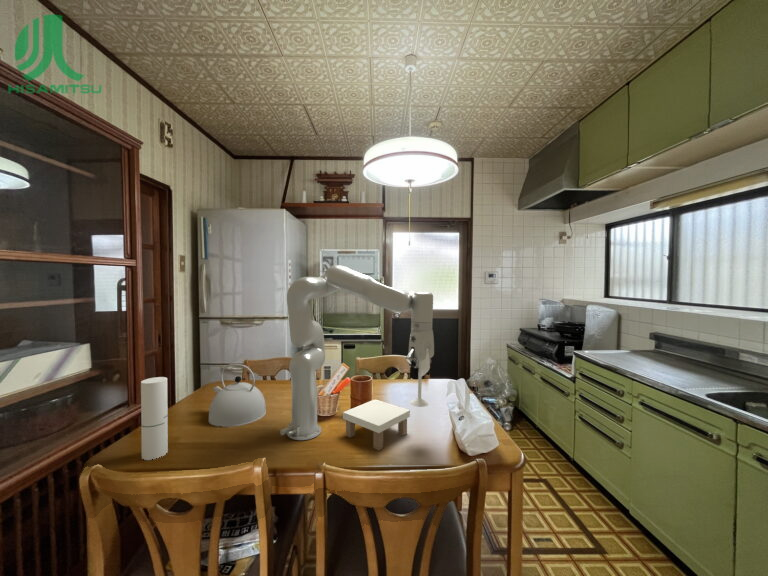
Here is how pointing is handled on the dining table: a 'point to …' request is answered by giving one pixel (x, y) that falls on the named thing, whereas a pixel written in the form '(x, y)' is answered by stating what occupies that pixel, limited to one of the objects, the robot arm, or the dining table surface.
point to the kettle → (236, 403)
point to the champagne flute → (423, 369)
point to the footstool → (376, 419)
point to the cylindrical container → (154, 418)
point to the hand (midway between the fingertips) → (420, 375)
